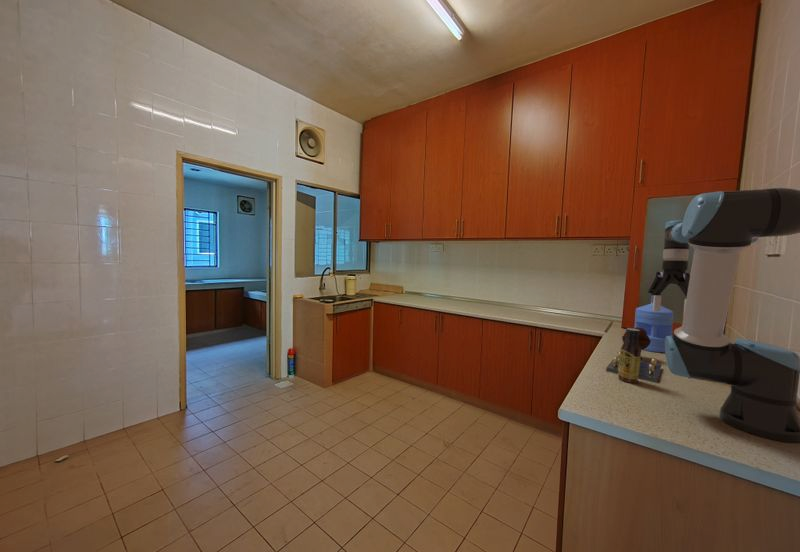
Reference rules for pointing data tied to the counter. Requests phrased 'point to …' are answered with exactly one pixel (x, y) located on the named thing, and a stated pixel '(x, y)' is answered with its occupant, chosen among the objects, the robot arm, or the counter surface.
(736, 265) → the robot arm
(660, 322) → the water jug
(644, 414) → the counter surface
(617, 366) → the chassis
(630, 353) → the sauce bottle
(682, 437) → the counter surface
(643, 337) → the ice cream bowl
